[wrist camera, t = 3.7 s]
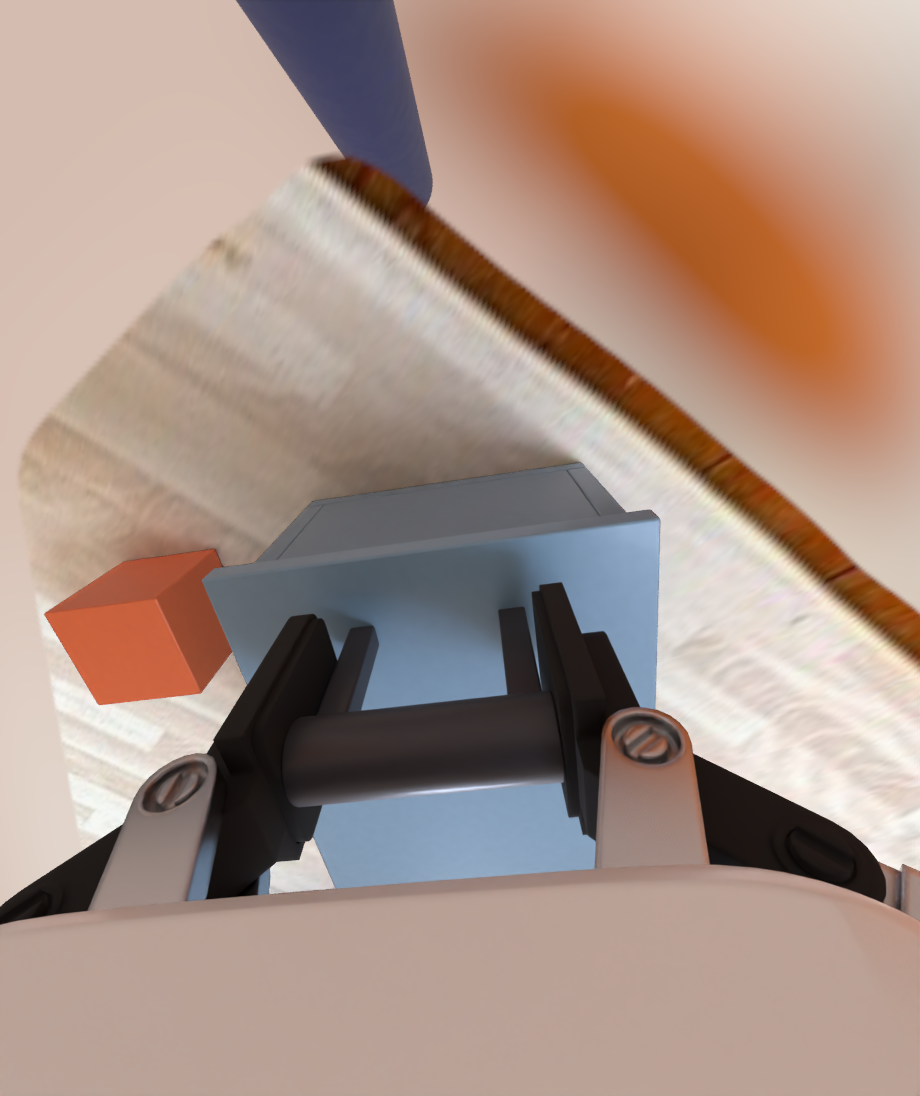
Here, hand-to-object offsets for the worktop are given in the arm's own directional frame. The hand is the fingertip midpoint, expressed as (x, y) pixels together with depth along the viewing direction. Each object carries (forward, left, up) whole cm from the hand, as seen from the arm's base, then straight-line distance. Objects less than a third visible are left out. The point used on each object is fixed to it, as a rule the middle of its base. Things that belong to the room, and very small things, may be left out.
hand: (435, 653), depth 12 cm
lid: (+5, 0, -2) cm, 5 cm away
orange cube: (+2, -13, -10) cm, 16 cm away
